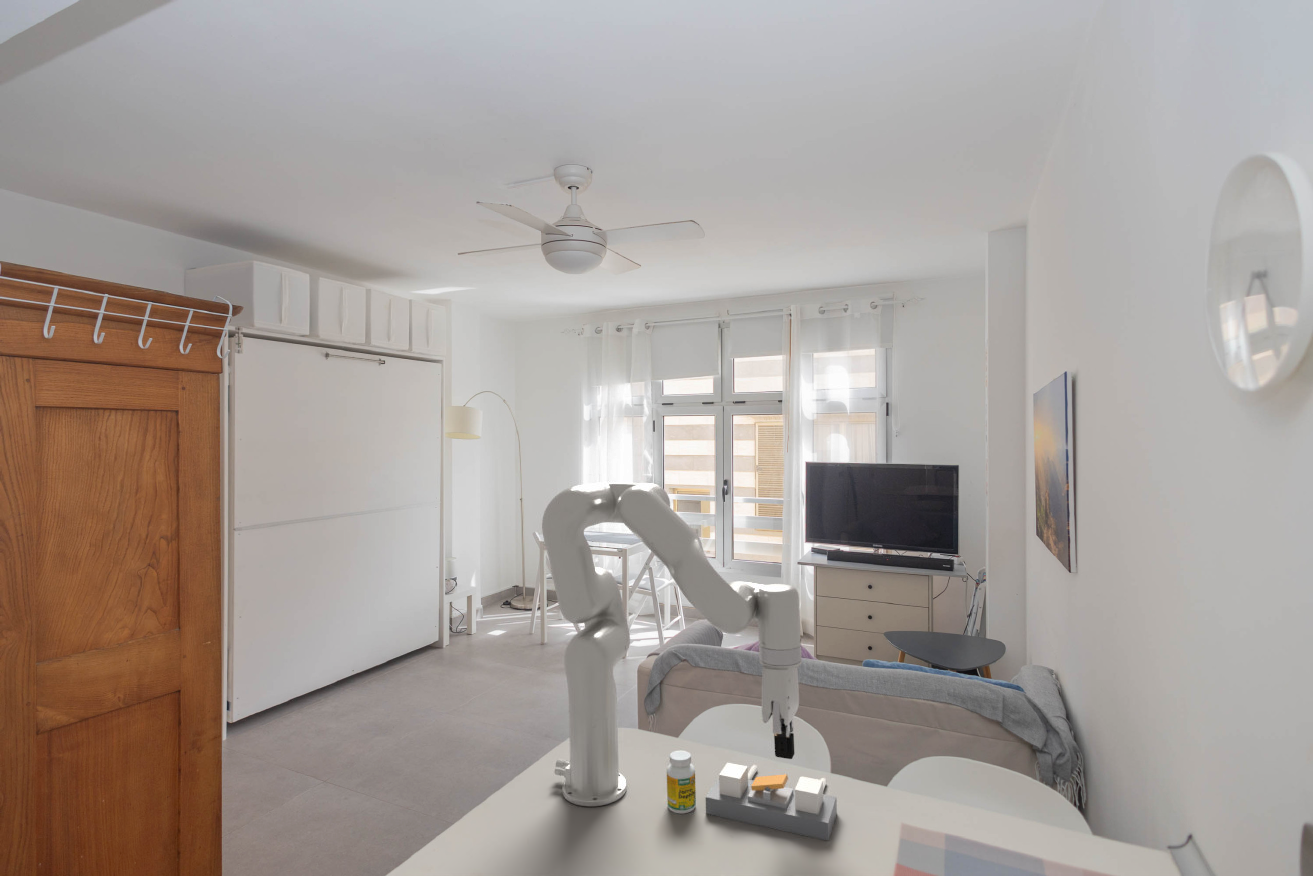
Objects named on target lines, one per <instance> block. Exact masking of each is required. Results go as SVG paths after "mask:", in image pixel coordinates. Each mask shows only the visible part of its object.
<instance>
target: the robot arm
mask: <svg viewBox="0 0 1313 876" xmlns="http://www.w3.org/2000/svg"><path fill="white" fill-rule="evenodd" d="M541 521H542V522H541V530H542V531H541V532H542V536H543V537H542V538H543V542H544V545H545V548H546V552H547V556H548V561H549V565H550V572H551V576H552V577H551V578H552V581H553V584H554V588H555V589H554V590H555V594H556V598H557V603H558V607H559V611H560V613H561V615H562V616H563V618H564V619H566V620H567V622H570V623H572V624H579V625H580V624H584V628H583V629H582V630H580V631H578V632H577V633H576V634H575V635H574V636H573V637H572V638H571V639H570V640H569V642H568V644H567V645H566V647H565V651H564V655H563V665H564V671H565V676H566V677H565V678H566V683H567V693H568V713H569V714H568V715H569V716H568V719H569V720H568V721H569V725H568V726H569V729H568V730H569V731H568V732H569V760H566V759H563V758H558V759H557V760H556V761H555V768H554V775H557V776H560V777H561V776H563V777H564V778H565V780H564V781H563V784H562V789H561V791H562V795H563V797H564V798H565V800H566V801H568V802H569V803H571V804H574V805H577V806H581V807H602V806H605V805H609V804H612V803H613V802H616V801H618V800H620V799H621V798H622V797H623V796H624V795H625V793H626V792H627V788H628V786H627V785H628V782H627V779H626V778H625V776H624V775H623V774H622V773H620V771H619V723H618V722H619V720H618V713H619V712H618V694H617V687H616V681H615V679H614V667H615V666H616V665H617V664H618V663H619V662H620V661H621V660H622V659H623V658H624V657H625V655H626V654H627V653H628V650H629V648H630V644H631V636H630V635H631V634H630V628H629V625H628V620H627V616H626V612H625V608H624V603H623V597H622V593H621V591H620V587H619V584H618V582H617V580H616V578H615V577H614V575H613V574H612V573H611V572H610V571H609V570H607V569H605V568H603V567H599V566H595V563H594V559H593V553H592V550H591V546H590V544H589V542H588V540H587V538H586V536H585V533H584V532H585V530H586V529H587V528H588V527H592V526H596V525H599V524H602V523H604V524H605V523H610V524H611V523H613V524H614V523H616V524H617V523H618V524H619V523H620V524H624V525H625V526H626V527H627V528H628V529H629V530H630V531H631V533H632V534H634V535H635V537H637V539H639V541H641V543H643V544H644V546H646V547H647V548H648V549H649V550H650V552H652V554H654V556H656V557H657V558H658V560H659V561H660V562H661V563H662V564H664V566H665V567H666V569H667V571H668V572H669V573H670V576H671V578H672V579H673V581H674V582H675V583H676V585H677V587H678V588H679V590H680V591H681V593H682V594H683V596H684V597H685V598H686V599H687V601H688V602H689V603H690V605H692V606H693V608H695V610H697V612H699V614H700V615H702V617H703V618H705V620H707V622H709V624H711V625H712V626H713V627H714V628H715V629H717V630H719V631H720V632H722V633H725V634H730V635H735V634H739V633H741V632H743V631H744V630H746V629H747V628H748V627H749V625H750V624H751V622H753V621H756V622H757V627H758V631H757V632H758V650H759V651H758V653H759V664H760V665H762V674H761V675H762V676H761V720H762V722H763V723H764V724H766V723H767V722H769V720H770V719H771V717H772V733H773V736H774V737H773V739H774V740H773V741H774V756H775V757H776V758H781V759H787V760H792V759H793V758H794V756H795V735H794V733H793V732H794V717H795V715H796V714H797V712H798V709H799V705H800V690H799V689H800V686H799V685H800V684H799V672H798V667H799V666H801V665H802V663H803V661H802V643H801V642H802V639H801V619H800V618H801V616H800V597H799V593H798V592H799V591H798V590H797V588H796V587H794V586H793V585H789V584H785V583H784V584H783V583H773V584H772V583H771V584H760V583H754V582H749V581H741V580H737V581H735V580H734V581H732V582H729V583H728V582H727V581H726V580H725V579H724V578H723V577H722V576H721V575H720V574H719V573H718V571H717V570H715V568H714V567H713V566H712V564H711V563H710V561H709V559H708V558H707V556H706V554H705V551H704V547H703V544H702V540H701V538H700V536H699V535H698V533H697V532H696V531H695V530H694V529H693V528H692V527H691V526H690V525H689V524H688V523H687V522H686V521H685V520H684V519H682V517H680V515H679V514H678V513H677V512H675V511H674V510H673V508H672V507H671V499H670V497H669V494H668V493H667V491H666V490H665V489H664V488H663V487H662V486H660V485H658V484H657V483H652V482H640V483H639V482H638V483H637V482H592V483H583V484H577V485H573V486H570V487H568V488H565V489H564V490H562V491H560V492H559V493H557V494H556V495H555V496H554V497H553V498H552V499H551V500H550V502H549V503H548V504H547V506H546V508H545V510H544V512H543V515H542V519H541Z"/></svg>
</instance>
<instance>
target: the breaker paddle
mask: <svg viewBox="0 0 1313 876" xmlns="http://www.w3.org/2000/svg"><path fill="white" fill-rule="evenodd" d="M788 779H789V777H788V774H787V773H786V774H774V775H762V776H761V775H760V776H756V777H755V778H754V779H753V780H754V782H753V784H752V785H751V788H752V791H754V790H766V791H771V789H781V788H784V787H786V784H787V782H788Z"/></svg>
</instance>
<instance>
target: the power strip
mask: <svg viewBox="0 0 1313 876" xmlns="http://www.w3.org/2000/svg"><path fill="white" fill-rule="evenodd" d="M748 770H749V771H748ZM757 771H758V766H757V765H756V764H753V765H751V767H750V769H749V768H748V765H742V764H737V763H732V762H727V763H726V764H725V765H724V767H723V768H722V770H721V771H720V773H719V774H718V778H717V780H716V781H715V782H714V784H713V785H712V787H710V788H711V789H709V791H708V793H707V794H706V795H705V814H708V815H710V814H711V816H715V815H716V816H715V817H720V818H723V819H730V820H733V821H739V822H742V823H745V824H746V823H747V824H752V825H756V826H760V827H765V828H769V829H773V830H778V831H783V832H787V833H792V834H795V835H801V836H805V837H810V838H814V839H819V840H823V841H827V842H829V840H830V838H831V834H832V830H833V827H834V825H835V820H836V819H837V818H836V817H837V814H838V809H837V805H838V804H837V796H835V795H830V794H825V793H824V790H825V787H826V785H827V778H826V777H821V778H820V779H817V778H811V777H807V776H800V777H799V779H798V780H797V784H796V785H795V788H793V787H789V786H784V788H781V789H771V791H766V790H754V791H752V788H751V785H752V784H753V782H754V780H755V779H753V777H754V776H755V775H756V772H757Z"/></svg>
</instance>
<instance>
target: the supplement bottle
mask: <svg viewBox="0 0 1313 876" xmlns="http://www.w3.org/2000/svg"><path fill="white" fill-rule="evenodd" d="M669 763H670V764H669V765H667V768H666V793H667V800H666V801H667V808H668V809H669V810H670V811H671V812H673V813H676V814H681V815H682V814H688V813H690V812H693V811H694V810H695V808H696V804H697V803H696V801H697V797H696V794H697V791H696V769H695V766H694V764H692V755H691V752H688V751H686V750H674V751H672V752H671V753H670V754H669Z"/></svg>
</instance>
